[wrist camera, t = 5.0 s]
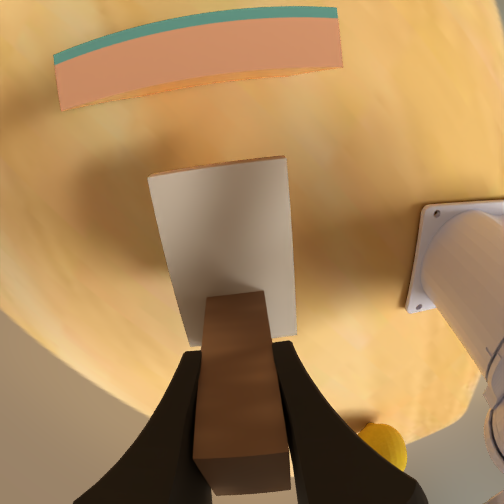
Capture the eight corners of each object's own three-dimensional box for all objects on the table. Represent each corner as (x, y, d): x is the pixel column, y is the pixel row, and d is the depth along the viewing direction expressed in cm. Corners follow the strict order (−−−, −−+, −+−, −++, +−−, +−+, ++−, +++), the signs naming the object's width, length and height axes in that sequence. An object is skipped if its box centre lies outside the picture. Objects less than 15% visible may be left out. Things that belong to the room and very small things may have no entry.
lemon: (333, 431, 29) (349, 497, 22) (374, 404, 27) (398, 473, 20) (363, 438, 31) (380, 497, 24) (402, 413, 29) (425, 473, 22)
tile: (284, 45, 13) (336, 7, 6) (287, 76, 13) (342, 67, 6) (136, 66, 13) (53, 54, 6) (141, 96, 13) (61, 111, 6)
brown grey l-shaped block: (283, 155, 12) (367, 251, 4) (294, 331, 15) (330, 482, 8) (151, 173, 12) (43, 289, 4) (192, 342, 15) (177, 495, 8)
